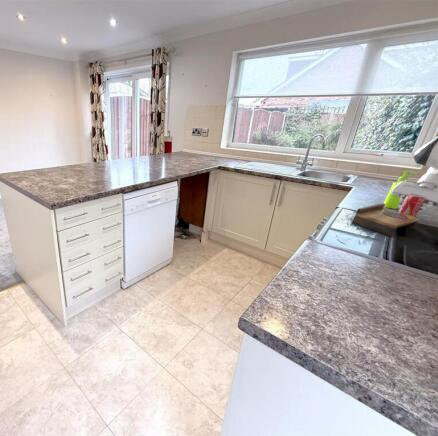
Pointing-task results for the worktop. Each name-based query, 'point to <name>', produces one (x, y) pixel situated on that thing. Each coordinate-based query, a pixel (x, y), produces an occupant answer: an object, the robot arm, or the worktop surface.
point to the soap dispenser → (394, 200)
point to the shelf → (383, 219)
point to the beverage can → (412, 204)
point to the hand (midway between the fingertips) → (410, 206)
